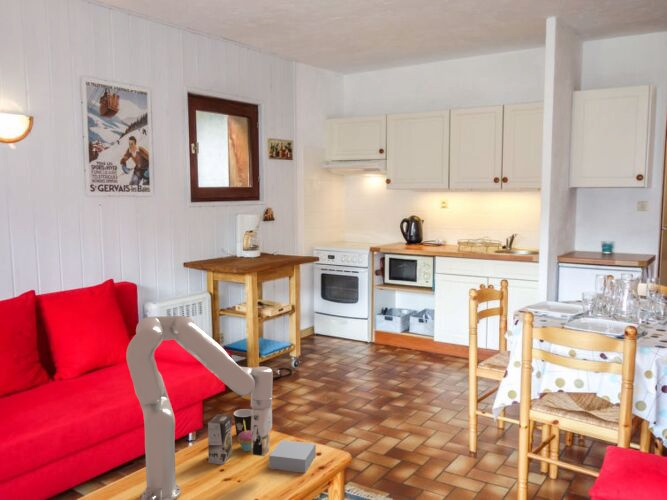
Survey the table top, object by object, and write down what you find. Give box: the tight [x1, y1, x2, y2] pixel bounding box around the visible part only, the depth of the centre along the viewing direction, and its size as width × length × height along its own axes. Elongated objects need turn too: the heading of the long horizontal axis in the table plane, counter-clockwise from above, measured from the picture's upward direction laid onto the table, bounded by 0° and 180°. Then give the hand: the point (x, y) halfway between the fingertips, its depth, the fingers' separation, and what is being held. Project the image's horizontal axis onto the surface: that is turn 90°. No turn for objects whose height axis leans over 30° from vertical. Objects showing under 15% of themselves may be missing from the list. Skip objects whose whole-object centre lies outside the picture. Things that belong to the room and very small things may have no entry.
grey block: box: [268, 439, 317, 474], centre depth 224 cm, size 14×14×5 cm
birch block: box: [250, 433, 271, 457], centre depth 211 cm, size 5×5×6 cm
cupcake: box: [236, 419, 252, 452], centre depth 235 cm, size 9×8×12 cm
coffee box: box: [207, 413, 233, 465], centre depth 226 cm, size 9×6×16 cm
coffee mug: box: [233, 408, 252, 437], centre depth 246 cm, size 12×9×10 cm
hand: (260, 450), depth 211 cm, fingers closed on birch block, 5 cm apart
